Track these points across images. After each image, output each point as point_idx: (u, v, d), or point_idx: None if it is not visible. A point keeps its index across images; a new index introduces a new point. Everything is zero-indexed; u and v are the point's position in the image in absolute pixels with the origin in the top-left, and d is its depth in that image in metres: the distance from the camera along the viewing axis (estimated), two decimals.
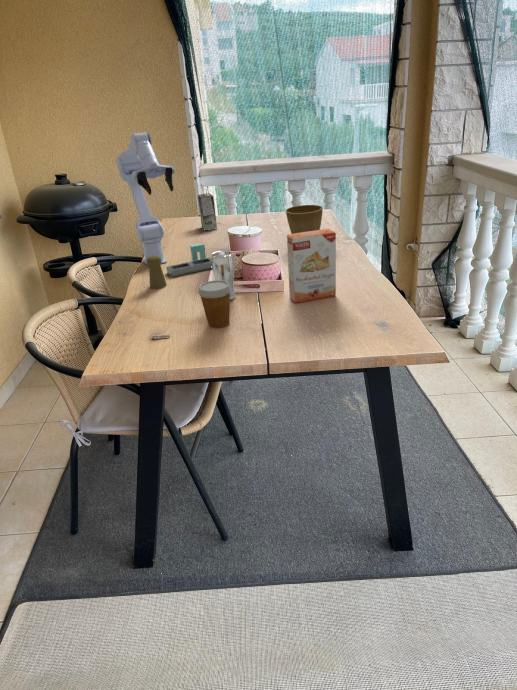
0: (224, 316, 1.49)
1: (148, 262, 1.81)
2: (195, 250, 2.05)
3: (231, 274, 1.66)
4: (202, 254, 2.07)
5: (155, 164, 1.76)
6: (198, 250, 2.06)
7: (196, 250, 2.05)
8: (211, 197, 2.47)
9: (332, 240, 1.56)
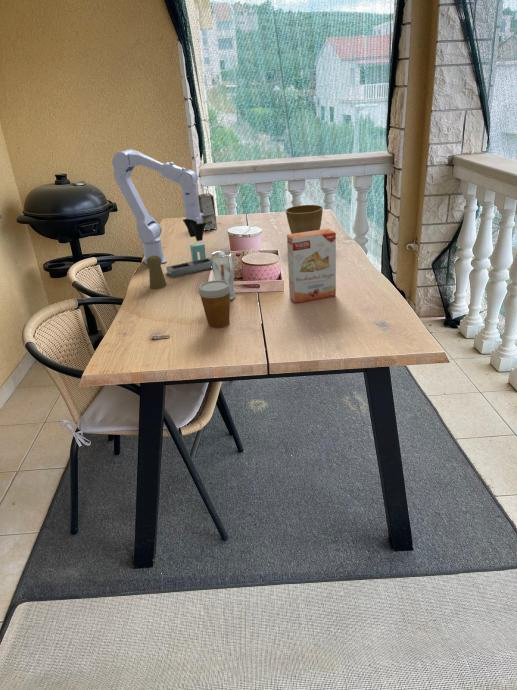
0: (224, 316, 1.49)
1: (148, 262, 1.81)
2: (195, 250, 2.05)
3: (231, 274, 1.66)
4: (202, 254, 2.07)
5: None
6: (198, 250, 2.06)
7: (196, 250, 2.05)
8: (211, 197, 2.47)
9: (332, 240, 1.56)
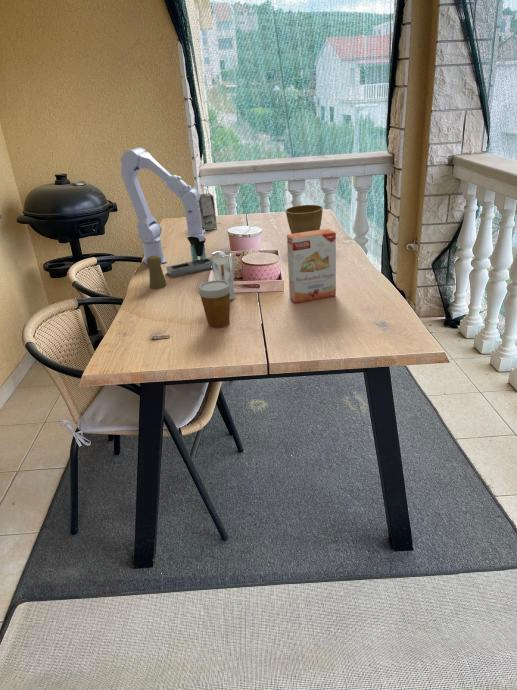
0: (224, 316, 1.49)
1: (148, 262, 1.81)
2: None
3: (231, 274, 1.66)
4: None
5: None
6: None
7: None
8: (211, 197, 2.47)
9: (332, 240, 1.56)
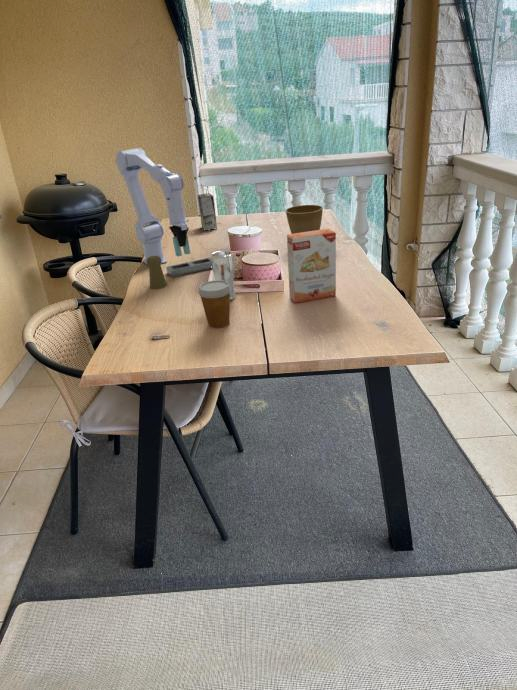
0: (224, 316, 1.49)
1: (148, 262, 1.81)
2: None
3: (231, 274, 1.66)
4: (185, 246, 1.96)
5: None
6: None
7: None
8: (211, 197, 2.47)
9: (332, 240, 1.56)
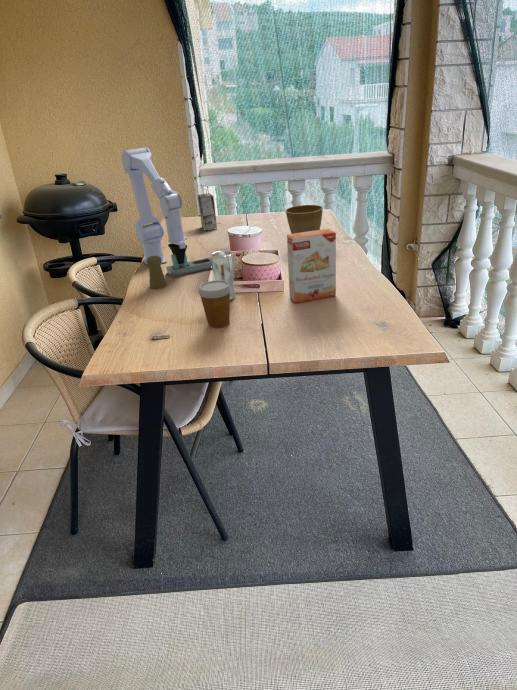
0: (224, 316, 1.49)
1: (148, 262, 1.81)
2: (176, 259, 1.95)
3: (231, 274, 1.66)
4: (184, 264, 1.97)
5: None
6: None
7: None
8: (211, 197, 2.47)
9: (332, 240, 1.56)
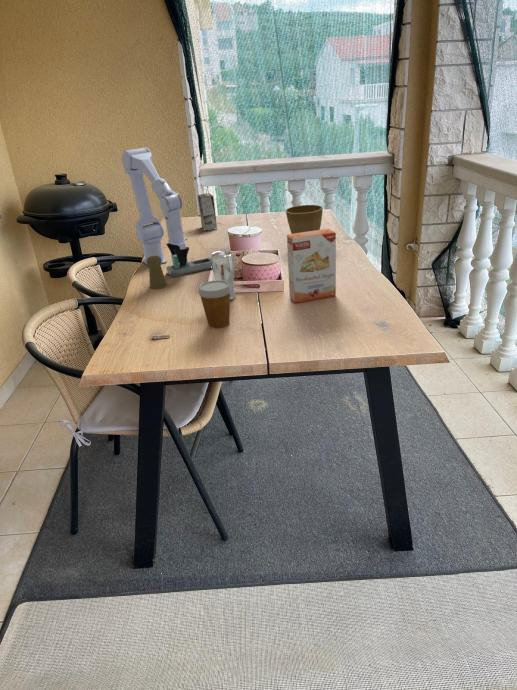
0: (224, 316, 1.49)
1: (148, 262, 1.81)
2: (177, 260, 1.95)
3: (231, 274, 1.66)
4: None
5: None
6: None
7: None
8: (211, 197, 2.47)
9: (332, 240, 1.56)
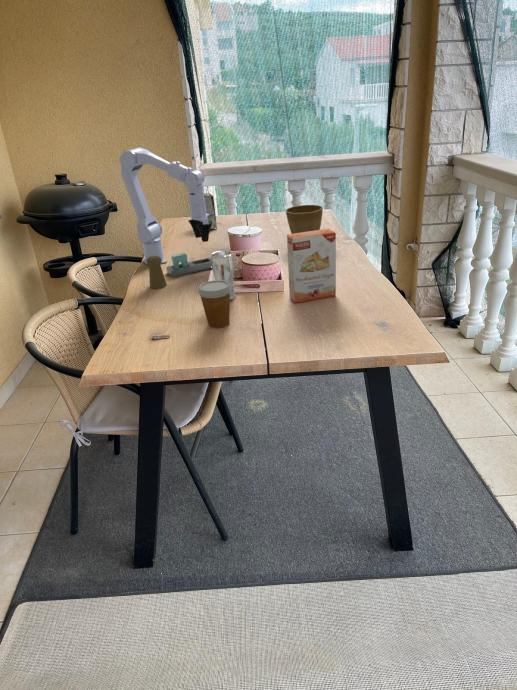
0: (224, 316, 1.49)
1: (148, 262, 1.81)
2: (177, 260, 1.95)
3: (231, 274, 1.66)
4: (184, 264, 1.97)
5: None
6: (180, 260, 1.96)
7: (178, 260, 1.95)
8: (211, 197, 2.47)
9: (332, 240, 1.56)
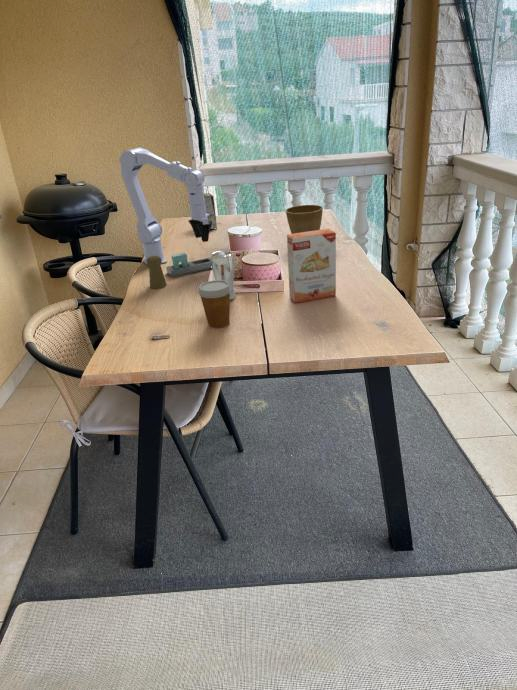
0: (224, 316, 1.49)
1: (148, 262, 1.81)
2: (177, 260, 1.95)
3: (231, 274, 1.66)
4: (184, 264, 1.97)
5: None
6: (180, 260, 1.96)
7: (178, 260, 1.95)
8: (211, 197, 2.47)
9: (332, 240, 1.56)
